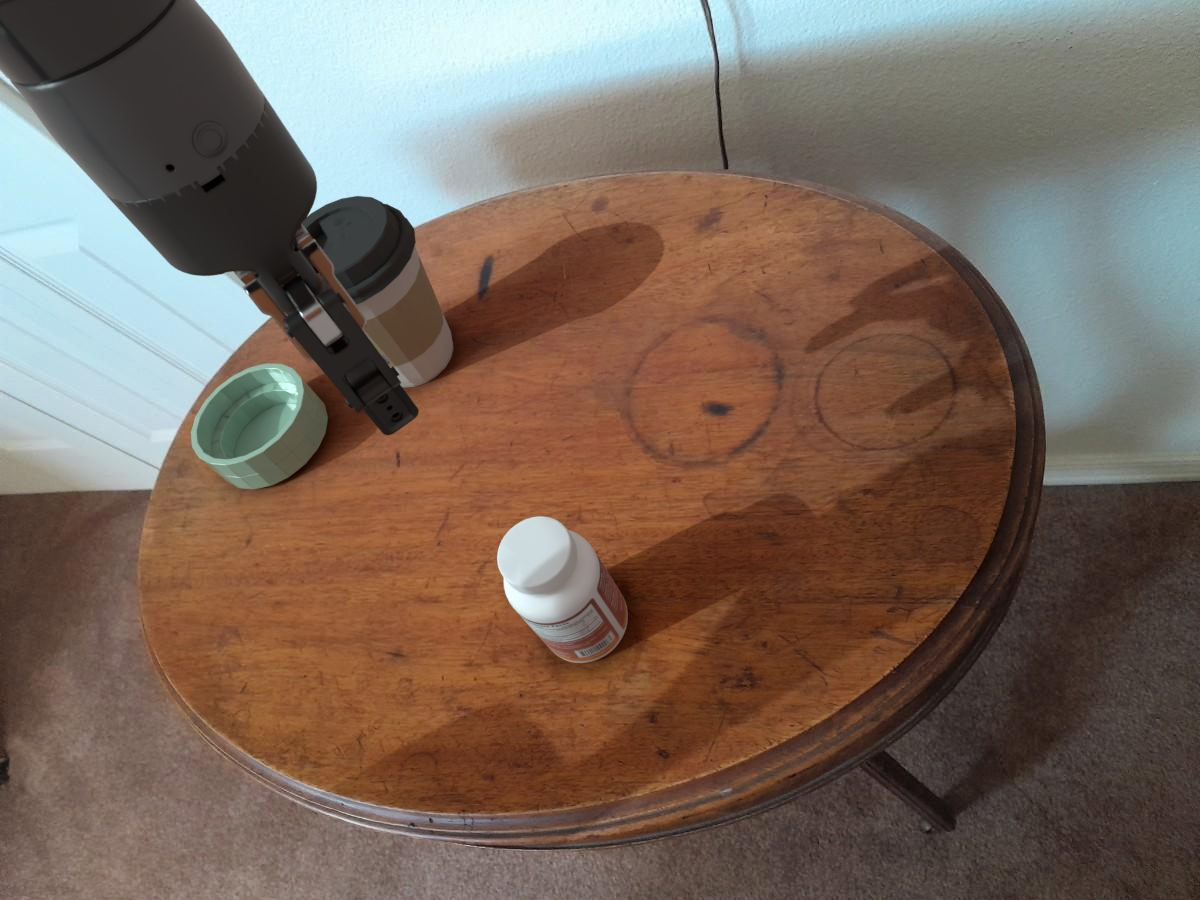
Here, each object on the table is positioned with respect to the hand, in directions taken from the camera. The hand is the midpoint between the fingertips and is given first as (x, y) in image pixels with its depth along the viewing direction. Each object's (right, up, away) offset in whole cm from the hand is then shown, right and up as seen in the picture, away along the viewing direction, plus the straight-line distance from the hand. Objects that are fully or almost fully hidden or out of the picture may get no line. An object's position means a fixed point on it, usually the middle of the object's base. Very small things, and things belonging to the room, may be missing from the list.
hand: (370, 378), depth 47 cm
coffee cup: (-4, +4, +32) cm, 32 cm away
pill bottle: (+12, -16, +12) cm, 23 cm away
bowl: (-17, -3, +31) cm, 35 cm away
